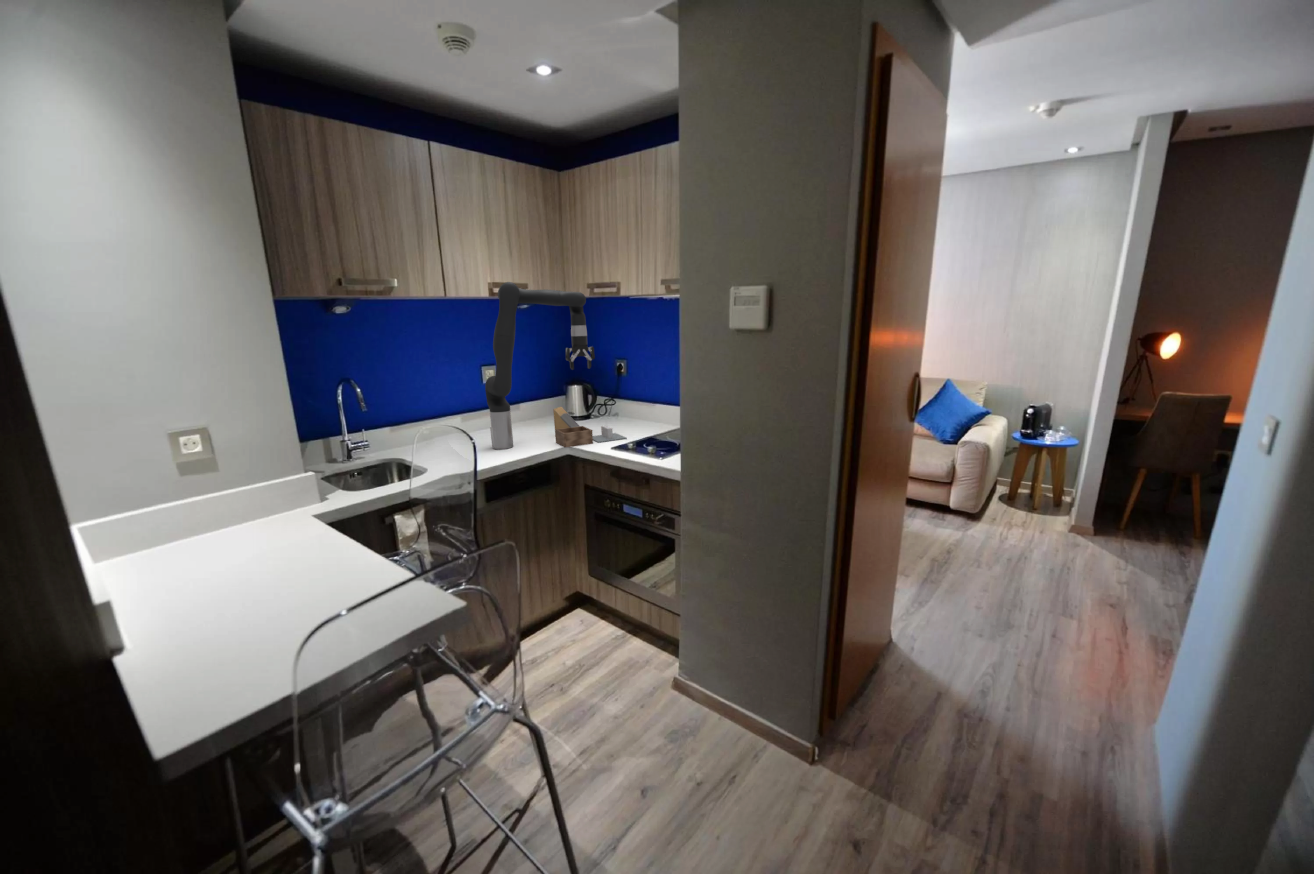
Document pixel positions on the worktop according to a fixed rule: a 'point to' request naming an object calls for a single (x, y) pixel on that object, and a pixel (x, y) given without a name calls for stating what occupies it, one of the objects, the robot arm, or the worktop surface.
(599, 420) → the worktop surface
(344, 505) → the worktop surface
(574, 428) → the box
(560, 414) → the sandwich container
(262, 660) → the worktop surface
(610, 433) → the lid
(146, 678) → the worktop surface
